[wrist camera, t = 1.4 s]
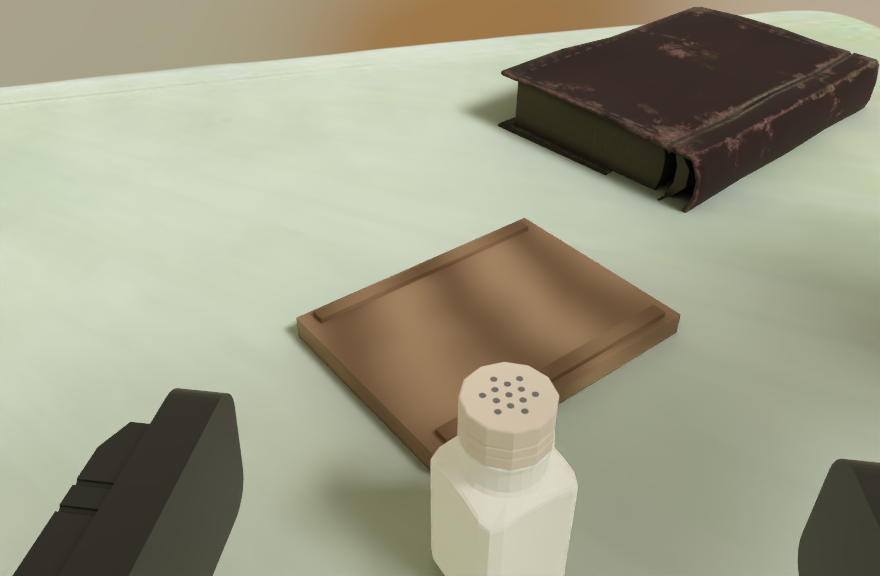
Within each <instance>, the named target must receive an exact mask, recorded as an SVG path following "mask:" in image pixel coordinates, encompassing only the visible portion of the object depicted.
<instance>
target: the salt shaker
mask: <svg viewBox="0 0 880 576" xmlns="http://www.w3.org/2000/svg"><path fill="white" fill-rule="evenodd" d="M558 402H559V394H558V392H557V391H556V389H555V387H554V386H553V384H552V382H551V381H550V379H549V377H547V376H545V375H544V374H542V373H540V372H539V371H537V370H535V369H533V368H532V367H530V366H528V365H521V364H515V363H509V362H501V363H496V364H491V365H486V366H481V367H480V368H478V369H477V370H476V371H474V372H473V373H472V374H470V375H469V376H468V377H466V378H465V379H464V380H463V383H462V387H461V390H460V393H459V397H458V428H457V436H456V437H454V438H453V439H451V440H450V441H448V442H446V443H445V444H443V445H442V446H440V447H439V448H438V450H437V451H436V452H435V454H434V455H433V457H432V458H431V550H432V556H433V560H434V561H435V562H436V564H437V565H438V567H439V568H440V570H441V571H442V572H443V574H444V575H445V576H564V573H565V566H566V560H567V554H568V548H569V542H570V535H571V529H572V523H573V517H574V511H575V504H576V498H577V492H578V484H577V480H576V477H575V473H574V471H573V469H572V468H571V467H570V466H569V464H568V463H567V462H566V460H565V459H564V458H563V456H562V455H561V454H560V453H559V452H558V451H557V449H556V448H555V447H554V444H555V426H556V418H557V410H558Z"/></svg>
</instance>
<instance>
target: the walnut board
mask: <svg viewBox="0 0 880 576" xmlns="http://www.w3.org/2000/svg"><path fill="white" fill-rule="evenodd" d="M679 319H680V314H679V313H677V312H676V311H674V310H672V309H671V308H669V307H667V306H666V305H664V304H663V303H661V302H659V301H658V300H656V299H655V298H653V297H651V296H650V295H648V294H646V293H645V292H643V291H642V290H640V289H638V288H637V287H635V286H634V285H632V284H630V283H629V282H627V281H626V280H624V279H622V278H621V277H619V276H617V275H616V274H614V273H613V272H611V271H609V270H608V269H606V268H605V267H603V266H601V265H600V264H598V263H596V262H595V261H593V260H592V259H590V258H588V257H587V256H585V255H584V254H582V253H580V252H579V251H577V250H575V249H574V248H572V247H571V246H569V245H567V244H566V243H564V242H563V241H561V240H559V239H558V238H556V237H554V236H553V235H551V234H550V233H548V232H546V231H545V230H543V229H542V228H540V227H538V226H537V225H535V224H533V223H532V222H530V221H529V220H527V219H525V218H523V219H521V220H519V221H516V222H514V223H512V224H509V225H507V226H505V227H503V228H500V229H498V230H496V231H493V232H491V233H489V234H487V235H484V236H482V237H480V238H478V239H475V240H473V241H471V242H468V243H466V244H464V245H462V246H459V247H457V248H455V249H452V250H450V251H448V252H446V253H443V254H441V255H439V256H436V257H434V258H432V259H430V260H427V261H425V262H423V263H420V264H418V265H416V266H414V267H411V268H409V269H407V270H404V271H402V272H400V273H398V274H395V275H393V276H391V277H389V278H386V279H384V280H382V281H379V282H377V283H375V284H373V285H370V286H368V287H366V288H363V289H361V290H359V291H357V292H354V293H352V294H350V295H347V296H345V297H343V298H341V299H338V300H336V301H334V302H331V303H329V304H327V305H325V306H322V307H320V308H318V309H315V310H313V311H311V312H309V313H306V314H304V315H302V316H300V317H297V325H298V333H299V336H300V337H301V338H302V339H303V340H304V341H305V342H306V343H307V344H308V345H309V346H310V347H311V348H312V349H313V350H314V352H315V353H316V354H317V355H318V356H319V357H320V358H321V359H322V360H323V361H324V362H325V363H326V364H327V365H328V366H329V367H330V368H331V369H332V370H333V371H334V372H335V373H336V374H337V375H338V376H339V377H340V378H341V379H342V380H343V381H344V382H345V383H346V384H347V385H348V386H349V387H350V388H351V389H352V390H353V391H354V392H355V394H356V395H357V396H358V397H359V398H360V399H361V400H362V401H363V402H364V403H365V404H366V405H367V406H368V407H369V408H370V409H371V410H372V411H373V412H374V413H375V414H376V415H377V416H378V417H379V418H380V419H381V420H382V421H383V422H384V423H385V424H386V425H387V426H388V427H389V428H390V429H391V430H392V431H393V432H394V433H395V434H396V436H397V437H398V438H399V439H400V440H401V441H402V442H403V443H404V444H405V445H406V446H407V447H408V448H409V449H410V450H411V451H412V452H413V453H414V454H415V455H416V456H417V457H418V458H419V459H420V460H421V461H422V462H423V463H424V464H425V465H426V466H427V467H428V468H429V469H430V470H431V458H432V457H433V455H434V454H435V452H436V451H437V450H438V448H439V447H440V446H442V445H443V444H445V443H446V442H448V441H450V440H451V439H453V438H454V437H456V436H457V428H458V397H459V393H460V390H461V387H462V383H463V380H464V379H465V378H466V377H468V376H469V375H470V374H472V373H473V372H474V371H476V370H477V369H478V368H480V367H481V366H486V365H491V364H496V363H501V362H509V363H515V364H521V365H528V366H530V367H532V368H533V369H535V370H537V371H539V372H540V373H542V374H544V375H545V376H547V377H549V379H550V381H551V382H552V384H553V386H554V387H555V389H556V391H557V392H558V394H559V402H558V404H559V403H561V402H563V401H564V400H566V399H568V398H569V397H571V396H573V395H574V394H576V393H577V392H579V391H581V390H582V389H584V388H586V387H587V386H589V385H591V384H592V383H594V382H596V381H597V380H599V379H600V378H602V377H604V376H605V375H607V374H609V373H610V372H612V371H614V370H615V369H617V368H618V367H620V366H622V365H623V364H625V363H627V362H628V361H630V360H632V359H633V358H635V357H637V356H638V355H640V354H641V353H643V352H645V351H646V350H648V349H650V348H651V347H653V346H655V345H656V344H658V343H660V342H661V341H663V340H664V339H666V338H668V337H669V336H671V335H673V334H674V333H676V332H677V328H678V323H679Z"/></svg>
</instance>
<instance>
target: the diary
mask: <svg viewBox="0 0 880 576" xmlns="http://www.w3.org/2000/svg"><path fill="white" fill-rule="evenodd" d="M878 69H879V63H878V61H877V60H876V59H873V58H870V57H866V56H863V55H860V54H856V53H853V54H851V53H850V51H846V50H843V49H840V48H836V47H833V46H830V45H826V44H823V43H820V42H818V41H815V40H812V39H809V38H807V37H804V36H801V35H798V34H796V33H793V32H790V31H788V30H785V29H782V28H779V27H775V26H772V25H769V24H765V23H762V22H759V21H755V20H752V19H749V18H745V17H742V16H738V15H733V14H729V13H725V12H721V11H716V10H712V9H707V8H703V7H693V8H691V9H687V10H685V11H682V12H679V13H677V14H674V15H671V16H668V17H666V18H663V19H660V20H657V21H654V22H652V23H649V24H646V25H643V26H640V27H638V28H635V29H632V30H629V31H627V32H624V33H621V34H618V35H616V36H613V37H610V38H606V39H602V40H597V41H593V42H589V43H585V44H581V45H577V46H573V47H568V48H564V49H561V50H558V51H555V52H552V53H550V54H547V55H544V56H541V57H539V58H536V59H533V60H530V61H528V62H525V63H522V64H519V65H517V66H514V67H511V68H508V69H506V70H503V71H502V72H501V74H502V75H503V76H506V77H508V78H510V79H513V80H515V81H518V94H517V107H516V118H513V119H510V120H507V121H504V122H502V123H499V124H498V126H499V127H501V128H504V129H506V130H508V131H510V132H512V133H514V134H517V135H519V136H521V137H523V138H525V139H527V140H530V141H532V142H534V143H536V144H538V145H541V146H543V147H545V148H547V149H549V150H551V151H554V152H556V153H558V154H560V155H562V156H565V157H567V158H569V159H571V160H573V161H575V162H578V163H580V164H582V165H584V166H586V167H588V168H591V169H593V170H595V171H597V172H599V173H602V174H604V175H607V174H609V173H610V172H612V171H614V172H616V173H618V174H621V175H623V176H625V177H627V178H629V179H632V180H634V181H636V182H638V183H640V184H642V185H645V186H647V187H649V188H651V189H653V190H655V189H657V188H659V187H661V186H663V185H665V184H667V183H668V182H670V181H672V180H674V182H673V183H672V185H671V186H670V188H669V189H668V190H667V192H666V193H665V194H664V196H662V197H661V198H659V199H657V200H659V201H660V200H662V199H664V198H665V197H667V196H669V197H671V196H672V195H674V194H676V193H678V192H679V191H681V190H683V189H685V188H686V187H688V186H690V185H692V184H694V183H695V182H696V184H695V188H694V192H693V197H692V198H691V199H690V200H689V202H688V203H687V204H686V205H685V207H684V208H683V209H682V210H681V211H682V212H684V213H686V212H688V211H689V210H691V209H693V208H694V207H696V206H698V205H699V204H701V203H703V202H704V201H706V200H707V199H709V198H711V197H712V196H714V195H715V194H717V193H719V192H720V191H722V190H723V189H725V188H727V187H728V186H730V185H731V184H733V183H735V182H736V181H738V180H739V179H741V178H743V177H745V176H747V175H748V174H750V173H752V172H754V171H756V170H757V169H759V168H761V167H763V166H765V165H766V164H768V163H770V162H772V161H774V160H775V159H777V158H779V157H781V156H783V155H784V154H786V153H788V152H790V151H791V150H793V149H794V148H796V147H797V146H799V145H801V144H802V143H804V142H805V141H807V140H808V139H810V138H812V137H813V136H815V135H816V134H818V133H820V132H821V131H823V130H824V129H826V128H828V127H830V126H832V125H833V124H835V123H837V122H839V121H841V120H843V119H844V118H846V117H848V116H850V115H852V114H854V113H856V112H857V111H859V110H861V109H863V108H864V107H865V106H866V104H867V103H868V101H869V100H870V97H871V95H872V92H873V89H874V86H875V84H876V81H877V75H878Z"/></svg>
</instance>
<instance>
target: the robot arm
mask: <svg viewBox="0 0 880 576" xmlns="http://www.w3.org/2000/svg"><path fill="white" fill-rule="evenodd" d="M242 491H243V466H242V459H241V451H240V443H239V436H238V428H237V421H236V413H235V406H234V401H233V398H232V396H231V395H230V394H228V393H219V392H209V391H199V390H190V389H180V388H176V389H173V390H172V391H171V392H170V393H169V394H168V396H167V397H166V399H165V400H164V402H163V404H162V405H161V407H160V408H159V410H158V412H157V413H156V415H155V417H154V418H153V420H152V422H151V423H150V424H145V423H135V422H130V423H128V424H127V425H126V426H125V427H123V428H122V429H121V430H119V431H118V432H117V433H116V434H114V435H113V436H112V437H110V438H109V439H108V440H106V441H105V442H104V443H103V444H101V445H100V446H99V447H98V448H97V449H96V451H95V452H94V454H93V455H92V457H91V458H90V460H89V461H88V463H87V464H86V466H85V467H84V469H83V470H82V472H81V473H80V475H79V476H78V478H77V483H76V485H72V487H71V488H70V490H69V491H68V493H67V494H66V496H65V497H64V499H63V500H62V502H61V503H60V509H59V511H58V512H56V511H55V513H54V514H53V516H52V517H51V519H50V520H49V522H48V523H47V525H46V526H45V528H44V529H43V531H42V532H41V534H40V535H39V537H38V538H37V540H36V541H35V543H34V544H33V546H32V547H31V549H30V550H29V552H28V553H27V555H26V556H25V558H24V559H23V561H22V562H21V564H20V565H19V567H18V568H17V570H16V571H15V573H14V574H13V576H213V573H214V571H215V568H216V566H217V563H218V561H219V559H220V556H221V554H222V551H223V549H224V546H225V544H226V542H227V539H228V537H229V534H230V532H231V530H232V527H233V525H234V522H235V520H236V517H237V514H238V511H239V507H240V503H241V498H242ZM798 571H799V576H880V463H876V462H866V461H856V460H847V459H839V460H836V461H835V462H834V463H833V464H832V466H831V468H830V470H829V472H828V474H827V476H826V479H825V481H824V483H823V486H822V488H821V491H820V493H819V495H818V498H817V500H816V502H815V505H814V507H813V509H812V512H811V514H810V517H809V519H808V521H807V524H806V526H805V528H804V531H803V533H802V536H801V539H800V543H799V549H798Z"/></svg>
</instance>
